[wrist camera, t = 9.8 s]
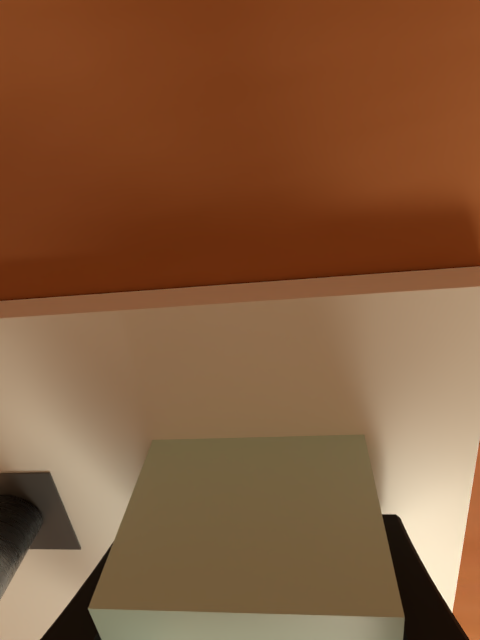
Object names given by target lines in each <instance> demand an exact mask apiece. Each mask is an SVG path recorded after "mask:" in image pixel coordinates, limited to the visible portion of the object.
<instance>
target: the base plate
mask: <svg viewBox="0 0 480 640" xmlns="http://www.w3.org/2000/svg"><path fill="white" fill-rule="evenodd" d="M327 435H364V436H365V440H366V445H367V449H368V454H369V459H370V463H371V468H372V472H373V477H374V481H375V486H376V490H377V495H378V499H379V504H380V508H381V513H382V514H396V515H397V516H399V517H400V518H401V520H402V523H403V525H404V527H405V529H406V531H407V533H408V536H409V538H410V540H411V542H412V544H413V546H414V548H415V549H416V551H417V553H418V555H419V557H420V559H421V561H422V562H423V564H424V566H425V568H426V570H427V571H428V573H429V575H430V577H431V579H432V580H433V582H434V584H435V585H436V587H437V589H438V591H439V592H440V594H441V595H442V597H443V599H444V600H445V602H446V603H447V605H448V607H449V608H450V610H451V612H452V611H453V605H454V599H455V592H456V586H457V580H458V573H459V567H460V561H461V554H462V548H463V541H464V535H465V529H466V522H467V516H468V510H469V503H470V497H471V491H472V484H473V478H474V472H475V465H476V459H477V453H478V446H479V440H480V266H475V267H461V268H447V269H434V270H420V271H406V272H392V273H379V274H365V275H351V276H337V277H324V278H310V279H296V280H282V281H268V282H255V283H241V284H227V285H213V286H200V287H186V288H172V289H158V290H145V291H131V292H117V293H103V294H89V295H76V296H62V297H48V298H34V299H21V300H7V301H0V495H12V496H16V497H19V498H22V499H24V500H26V501H28V502H29V503H31V504H32V505H34V506H35V507H36V508H37V509H38V511H39V512H40V514H41V516H42V519H43V524H42V527H41V529H40V530H39V532H38V534H37V536H36V537H35V539H34V541H33V543H32V545H31V546H30V548H29V550H28V552H27V554H26V555H25V557H24V559H23V561H22V562H21V564H20V566H19V568H18V570H17V571H16V573H15V575H14V577H13V578H12V580H11V582H10V584H9V586H8V587H7V589H6V591H5V593H4V594H3V596H2V598H1V600H0V640H40V639H41V638H42V637H43V635H44V634H45V633H46V632H47V630H48V629H49V628H50V627H51V625H52V624H53V623H54V622H55V620H56V619H57V618H58V617H59V615H60V614H61V613H62V612H63V610H64V609H65V608H66V606H67V605H68V604H69V602H70V601H71V600H72V598H73V597H74V596H75V594H76V593H77V592H78V590H79V589H80V588H81V586H82V585H83V584H84V582H85V581H86V580H87V578H88V577H89V575H90V574H91V573H92V571H93V570H94V569H95V567H96V566H97V564H98V563H99V561H100V560H101V559H102V557H103V556H104V554H105V553H106V552H107V550H108V549H109V547H110V546H111V544H112V543H113V541H114V539H115V537H116V534H117V532H118V529H119V526H120V524H121V521H122V519H123V516H124V513H125V511H126V508H127V506H128V503H129V500H130V498H131V495H132V493H133V490H134V487H135V485H136V482H137V480H138V477H139V474H140V472H141V469H142V467H143V464H144V461H145V459H146V456H147V454H148V451H149V448H150V446H151V443H152V441H153V440H170V439H209V438H248V437H288V436H327Z"/></svg>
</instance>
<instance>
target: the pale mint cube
mask: <svg viewBox="0 0 480 640" xmlns="http://www.w3.org/2000/svg"><path fill="white" fill-rule="evenodd" d="M88 610H89V612H90V615H91V617H92V619H93V621H94V624H95V626H96V628H97V630H98V633H99V635H100V637H101V640H403V634H404V621H405V616H404V612H403V607H402V603H401V598H400V594H399V589H398V585H397V580H396V576H395V571H394V567H393V562H392V558H391V553H390V549H389V544H388V540H387V535H386V531H385V526H384V522H383V517H382V513H381V508H380V504H379V499H378V495H377V490H376V486H375V481H374V477H373V472H372V468H371V463H370V459H369V454H368V449H367V445H366V440H365V436H364V435H327V436H288V437H248V438H209V439H170V440H153V441H152V443H151V446H150V448H149V451H148V454H147V456H146V459H145V461H144V464H143V467H142V469H141V472H140V474H139V477H138V480H137V482H136V485H135V487H134V490H133V493H132V495H131V498H130V500H129V503H128V506H127V508H126V511H125V513H124V516H123V519H122V521H121V524H120V526H119V529H118V532H117V534H116V537H115V539H114V542H113V545H112V547H111V550H110V553H109V555H108V558H107V560H106V563H105V566H104V568H103V571H102V573H101V576H100V579H99V581H98V584H97V586H96V589H95V592H94V594H93V597H92V599H91V602H90V605H89V607H88Z"/></svg>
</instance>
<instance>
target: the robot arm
mask: <svg viewBox="0 0 480 640" xmlns="http://www.w3.org/2000/svg"><path fill="white" fill-rule="evenodd" d="M382 517H383V522H384V526H385V531H386V535H387V540H388V544H389V549H390V553H391V558H392V562H393V567H394V571H395V576H396V580H397V585H398V589H399V594H400V598H401V603H402V607H403V612H404V616H405V621H404V634H403V640H469V638H468V637H467V635H466V634H465V632H464V631H463V629H462V627H461V626H460V624H459V623H458V621H457V620H456V618H455V616H454V615H453V613H452V612H451V610H450V608H449V607H448V605H447V603H446V602H445V600H444V599H443V597H442V595H441V594H440V592H439V591H438V589H437V587H436V585H435V584H434V582H433V580H432V579H431V577H430V575H429V573H428V571H427V570H426V568H425V566H424V564H423V562H422V561H421V559H420V557H419V555H418V553H417V551H416V549H415V548H414V546H413V544H412V542H411V540H410V538H409V536H408V533H407V531H406V529H405V527H404V525H403V523H402V520H401V518H400V517H399V516H397V515H396V514H382ZM113 542H114V541H113ZM112 545H113V543H112V544H111V546H110V547H109V549H108V550H107V552H106V553H105V554H104V556H103V557H102V559H101V560H100V561H99V563H98V564H97V566H96V567H95V569H94V570H93V571H92V573H91V574H90V575H89V577H88V578H87V580H86V581H85V582H84V584H83V585H82V586H81V588H80V589H79V590H78V592H77V593H76V594H75V596H74V597H73V598H72V600H71V601H70V602H69V604H68V605H67V606H66V608H65V609H64V610H63V612H62V613H61V614H60V615H59V617H58V618H57V619H56V620H55V622H54V623H53V624H52V625H51V627H50V628H49V629H48V630H47V632H46V633H45V634H44V635H43V637H42V638H41V639H40V640H101V637H100V635H99V633H98V630H97V628H96V626H95V624H94V621H93V619H92V617H91V615H90V612H89V610H88V607H89V605H90V602H91V599H92V597H93V594H94V592H95V589H96V586H97V584H98V581H99V579H100V576H101V573H102V571H103V568H104V566H105V563H106V560H107V558H108V555H109V553H110V550H111V547H112Z"/></svg>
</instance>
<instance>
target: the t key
mask: <svg viewBox="0 0 480 640" xmlns="http://www.w3.org/2000/svg"><path fill="white" fill-rule="evenodd" d="M42 524H43V519H42V516H41V514H40V512H39V511H38V509H37V508H36V507H35V506H34V505H32V504H31V503H29V502H28V501H26V500H24V499H22V498H19V497H16V496H12V495H0V600H1V598H2V596H3V594H4V593H5V591H6V589H7V587H8V586H9V584H10V582H11V580H12V578H13V577H14V575H15V573H16V571H17V570H18V568H19V566H20V564H21V562H22V561H23V559H24V557H25V555H26V554H27V552H28V550H29V548H30V546H31V545H32V543H33V541H34V539H35V537H36V536H37V534H38V532H39V530H40V529H41V527H42Z"/></svg>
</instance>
